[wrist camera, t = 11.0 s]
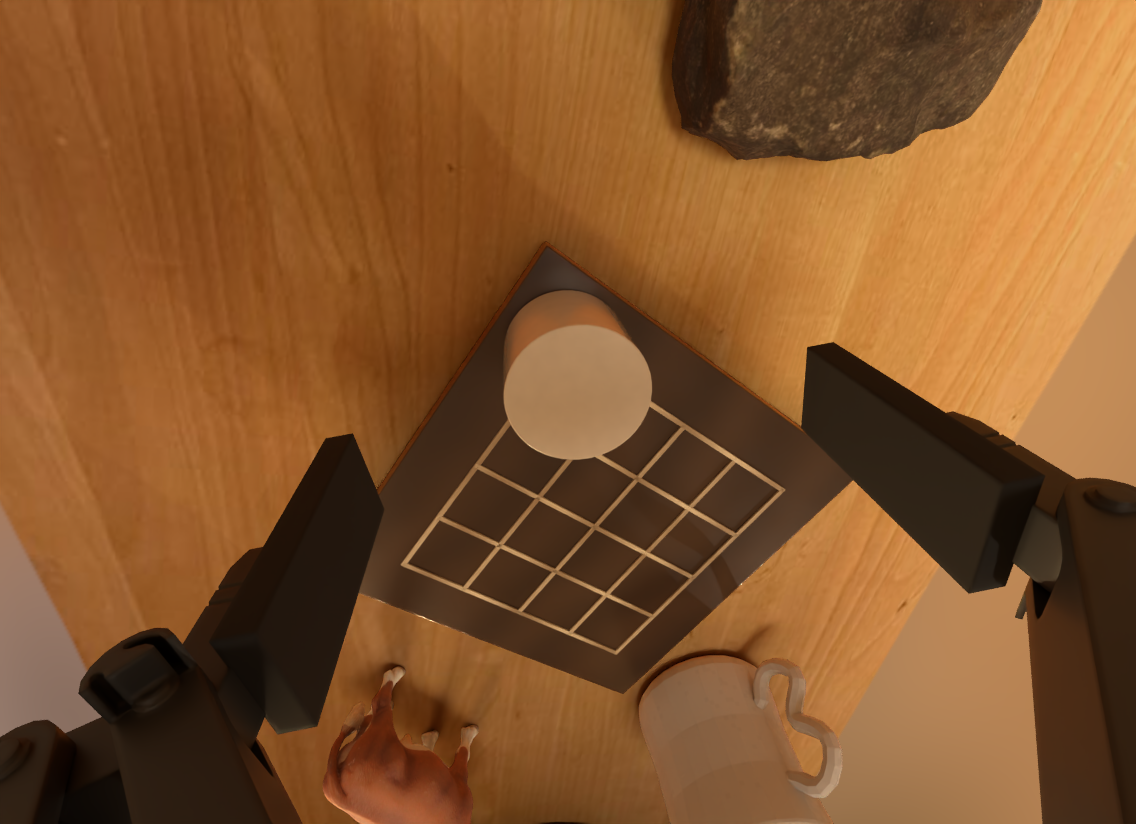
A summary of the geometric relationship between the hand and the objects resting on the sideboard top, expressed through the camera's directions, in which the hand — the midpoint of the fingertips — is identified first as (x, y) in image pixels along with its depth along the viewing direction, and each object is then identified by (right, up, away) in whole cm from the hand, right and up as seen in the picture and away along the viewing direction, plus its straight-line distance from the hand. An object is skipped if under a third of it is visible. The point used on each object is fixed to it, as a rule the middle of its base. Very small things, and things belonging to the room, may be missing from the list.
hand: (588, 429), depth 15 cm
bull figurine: (-10, -19, +19) cm, 29 cm away
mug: (+9, -18, +21) cm, 29 cm away
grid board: (+1, -5, +13) cm, 13 cm away
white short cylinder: (-1, +3, +7) cm, 8 cm away
